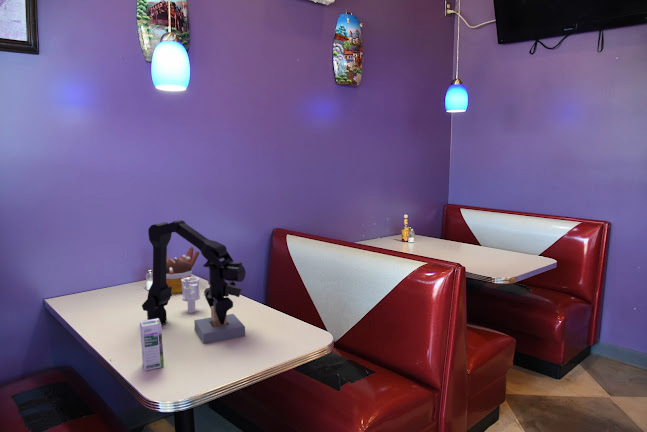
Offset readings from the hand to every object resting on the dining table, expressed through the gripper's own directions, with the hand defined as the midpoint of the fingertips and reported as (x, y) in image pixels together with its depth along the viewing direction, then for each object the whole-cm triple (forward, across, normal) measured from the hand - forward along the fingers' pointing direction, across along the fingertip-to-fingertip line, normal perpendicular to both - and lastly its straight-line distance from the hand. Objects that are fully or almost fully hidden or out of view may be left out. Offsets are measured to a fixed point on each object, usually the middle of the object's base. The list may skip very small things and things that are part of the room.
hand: (218, 320), depth 177 cm
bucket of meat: (+5, +61, +4) cm, 61 cm away
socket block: (+5, 0, 0) cm, 5 cm away
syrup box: (+5, -17, +26) cm, 31 cm away
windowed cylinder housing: (+5, +28, +4) cm, 29 cm away
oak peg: (+4, 0, 0) cm, 4 cm away
